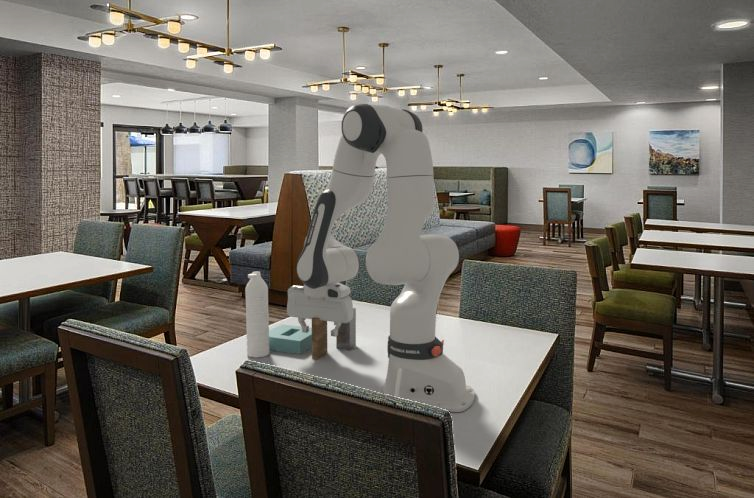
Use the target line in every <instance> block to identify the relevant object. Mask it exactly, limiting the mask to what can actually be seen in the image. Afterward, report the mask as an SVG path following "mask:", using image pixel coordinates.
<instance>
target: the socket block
mask: <svg viewBox="0 0 754 498" xmlns="http://www.w3.org/2000/svg"><path fill="white" fill-rule="evenodd" d="M311 348H312V327H309V332H307V333H303V332H302V327H301V325H300V326H298V325H293V324H292V325H291V324H284V323H281V324H279V325H277V326H276V327H273V328H272V329H269V351H277V352H283V353H290V354H297V355H301V354H302V353H304V352H306V351H307V350H309V349H311Z"/></svg>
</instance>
